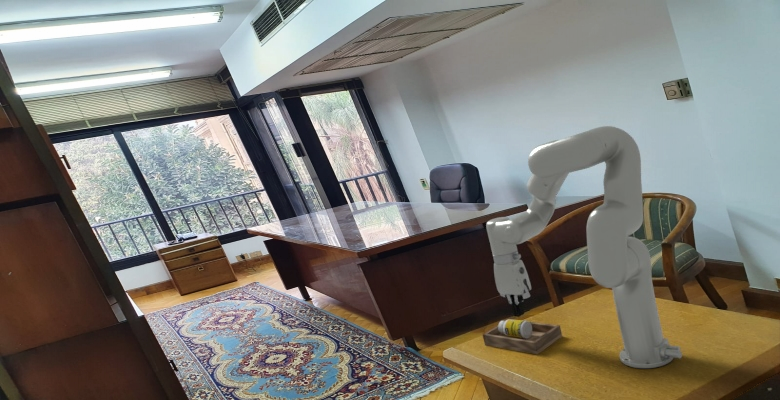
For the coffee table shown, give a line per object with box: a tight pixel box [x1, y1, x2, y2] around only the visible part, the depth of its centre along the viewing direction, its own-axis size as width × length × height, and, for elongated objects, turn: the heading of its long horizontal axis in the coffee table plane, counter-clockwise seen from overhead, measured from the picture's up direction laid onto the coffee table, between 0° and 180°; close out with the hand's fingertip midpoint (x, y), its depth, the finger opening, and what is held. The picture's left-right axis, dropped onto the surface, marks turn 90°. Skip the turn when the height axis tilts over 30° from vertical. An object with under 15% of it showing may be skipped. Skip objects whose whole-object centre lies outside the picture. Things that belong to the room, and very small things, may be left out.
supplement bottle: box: [497, 318, 532, 339], centre depth 167 cm, size 5×5×10 cm
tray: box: [482, 318, 563, 355], centre depth 165 cm, size 20×13×4 cm, turn 40°
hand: (519, 314), depth 163 cm, fingers closed
